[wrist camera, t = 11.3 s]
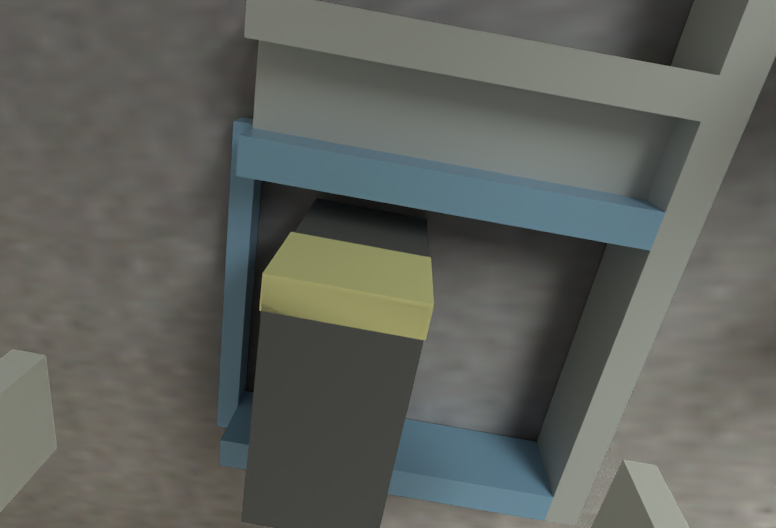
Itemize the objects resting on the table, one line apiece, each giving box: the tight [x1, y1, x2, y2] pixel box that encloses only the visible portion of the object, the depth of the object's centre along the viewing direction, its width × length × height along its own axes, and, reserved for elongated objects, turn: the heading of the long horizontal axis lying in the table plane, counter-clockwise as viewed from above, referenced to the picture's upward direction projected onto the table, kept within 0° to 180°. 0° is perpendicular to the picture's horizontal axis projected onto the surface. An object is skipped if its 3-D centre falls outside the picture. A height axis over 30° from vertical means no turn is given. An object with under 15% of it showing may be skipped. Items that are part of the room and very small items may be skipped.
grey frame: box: [217, 0, 776, 526], centre depth 16 cm, size 27×14×3 cm, turn 170°
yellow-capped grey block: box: [242, 199, 434, 528], centre depth 17 cm, size 8×4×7 cm, turn 170°
